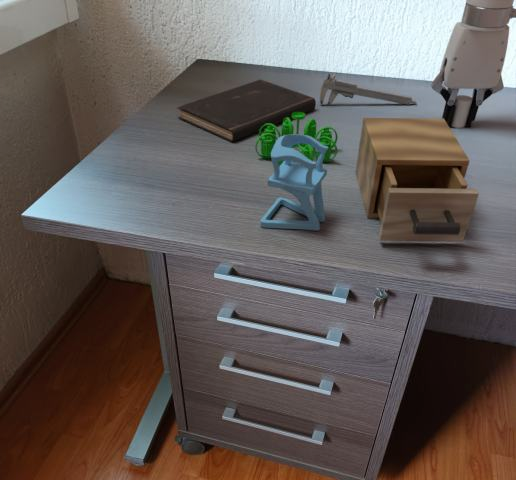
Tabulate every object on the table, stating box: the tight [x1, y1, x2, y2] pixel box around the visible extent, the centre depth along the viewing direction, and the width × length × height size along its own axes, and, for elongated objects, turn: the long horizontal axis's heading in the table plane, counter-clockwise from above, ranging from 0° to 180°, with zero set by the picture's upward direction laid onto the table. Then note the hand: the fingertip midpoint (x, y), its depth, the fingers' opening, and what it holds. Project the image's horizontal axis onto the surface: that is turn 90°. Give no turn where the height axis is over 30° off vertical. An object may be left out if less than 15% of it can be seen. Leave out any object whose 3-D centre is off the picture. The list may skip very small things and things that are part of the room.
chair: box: [260, 133, 328, 231], centre depth 73 cm, size 8×8×12 cm
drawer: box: [375, 165, 480, 243], centre depth 72 cm, size 18×11×7 cm, turn 179°
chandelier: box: [254, 112, 338, 167], centre depth 91 cm, size 15×15×7 cm
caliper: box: [319, 72, 418, 107], centre depth 108 cm, size 20×1×6 cm, turn 93°
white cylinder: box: [450, 94, 472, 129], centre depth 101 cm, size 3×3×5 cm
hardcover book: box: [177, 79, 317, 143], centre depth 105 cm, size 16×23×2 cm
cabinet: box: [355, 117, 471, 219], centre depth 80 cm, size 15×13×9 cm
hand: (457, 123), depth 103 cm, fingers closed on white cylinder, 3 cm apart
